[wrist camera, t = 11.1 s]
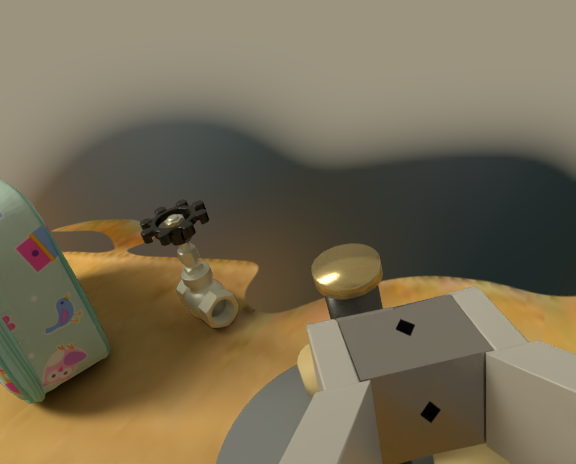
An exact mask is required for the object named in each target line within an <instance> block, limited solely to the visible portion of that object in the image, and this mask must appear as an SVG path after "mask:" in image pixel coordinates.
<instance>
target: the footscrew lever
mask: <svg viewBox="0 0 576 464" xmlns="http://www.w3.org/2000/svg"><path fill="white" fill-rule="evenodd" d="M311 269H312V275H313V278H314V282H315V286H316V288H317V290H318V291H319V292H320V293H321V294H322V295H324V296H325V299H326V303H327V306H328V310H329V314H330V318H331V320H332V319H335V320H336V318H341V317H346V316H351V315H356V314H361V313H365V312H370V311H375V310H380V309H383V308H382V302H381V297H380V292H379V287H378V284H379V283H380V281H381V278H382V268H381V262H380V257H379V255H378V253H377V252H376V251H375V250H374V249H373V248H371V247H369V246H366V245H362V244H344V245H339V246H336V247H333V248H331V249H328V250H326V251H325V252H323V253H322V254H320V255H319V256H318V257H317V258H316V259H315V261H314V263H313V265H312V268H311ZM400 464H412V460H411V461H407V462H404V463H400Z"/></svg>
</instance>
